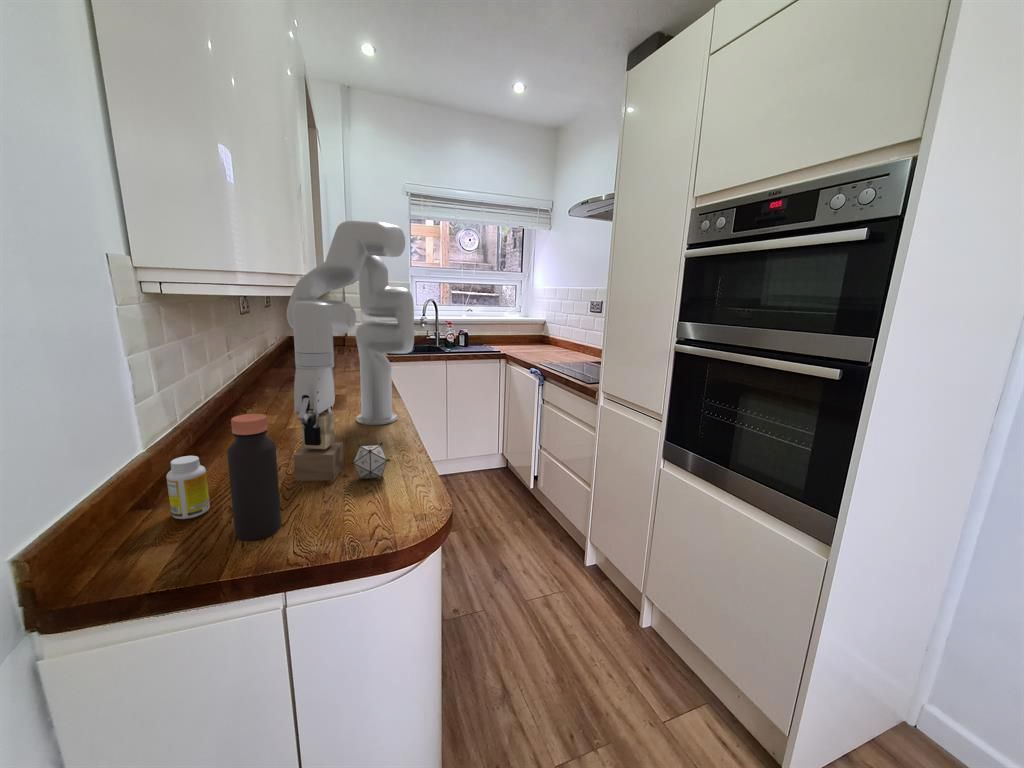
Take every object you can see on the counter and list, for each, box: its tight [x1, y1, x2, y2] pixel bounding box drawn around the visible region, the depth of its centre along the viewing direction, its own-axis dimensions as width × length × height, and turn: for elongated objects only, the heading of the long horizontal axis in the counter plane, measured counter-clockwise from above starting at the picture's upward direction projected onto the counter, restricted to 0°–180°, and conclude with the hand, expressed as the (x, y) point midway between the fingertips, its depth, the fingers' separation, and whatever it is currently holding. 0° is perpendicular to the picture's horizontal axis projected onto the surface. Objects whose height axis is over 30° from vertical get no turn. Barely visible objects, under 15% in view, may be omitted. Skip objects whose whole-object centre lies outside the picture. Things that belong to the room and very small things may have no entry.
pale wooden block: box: [300, 411, 336, 449], centre depth 92 cm, size 5×5×7 cm
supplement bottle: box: [165, 455, 211, 520], centre depth 74 cm, size 6×6×10 cm
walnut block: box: [293, 441, 345, 482], centre depth 94 cm, size 8×8×6 cm
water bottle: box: [226, 413, 282, 542], centre depth 69 cm, size 7×7×20 cm
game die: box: [349, 441, 391, 483], centre depth 92 cm, size 9×8×10 cm
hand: (319, 439), depth 93 cm, fingers open, 5 cm apart
